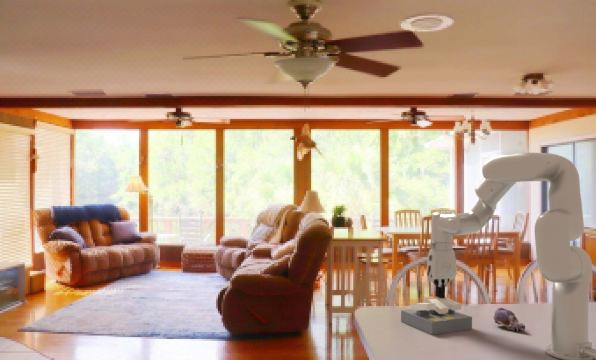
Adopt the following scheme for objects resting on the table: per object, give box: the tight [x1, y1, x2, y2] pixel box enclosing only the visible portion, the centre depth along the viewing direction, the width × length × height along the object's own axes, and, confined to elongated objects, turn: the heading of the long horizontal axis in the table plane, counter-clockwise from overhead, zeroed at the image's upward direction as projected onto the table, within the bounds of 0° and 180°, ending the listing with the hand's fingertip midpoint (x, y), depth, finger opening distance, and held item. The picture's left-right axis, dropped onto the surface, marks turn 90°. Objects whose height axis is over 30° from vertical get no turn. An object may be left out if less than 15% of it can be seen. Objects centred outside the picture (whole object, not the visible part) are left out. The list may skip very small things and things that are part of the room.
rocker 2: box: [422, 295, 449, 314], centre depth 181 cm, size 9×4×2 cm, turn 24°
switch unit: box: [400, 308, 473, 336], centre depth 181 cm, size 17×17×5 cm
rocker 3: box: [435, 296, 462, 311], centre depth 184 cm, size 9×4×2 cm, turn 25°
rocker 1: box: [410, 302, 436, 310], centre depth 179 cm, size 9×4×2 cm, turn 24°
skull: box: [493, 307, 526, 332], centre depth 178 cm, size 12×8×6 cm, turn 13°
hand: (440, 296), depth 187 cm, fingers closed
